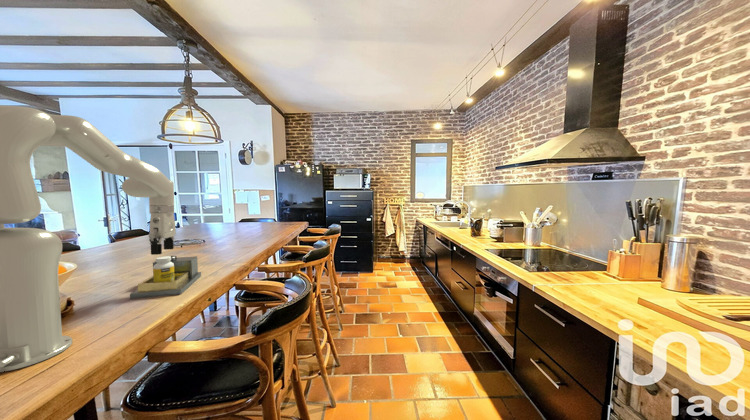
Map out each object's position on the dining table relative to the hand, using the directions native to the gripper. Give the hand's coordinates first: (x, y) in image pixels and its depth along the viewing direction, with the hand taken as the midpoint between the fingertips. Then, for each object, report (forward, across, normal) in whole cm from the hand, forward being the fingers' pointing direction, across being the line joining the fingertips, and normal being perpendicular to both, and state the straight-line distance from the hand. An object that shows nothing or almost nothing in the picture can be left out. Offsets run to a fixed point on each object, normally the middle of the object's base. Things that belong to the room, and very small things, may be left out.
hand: (162, 251), depth 98 cm
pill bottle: (+14, +1, 0) cm, 14 cm away
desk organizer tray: (+16, +5, 0) cm, 17 cm away
